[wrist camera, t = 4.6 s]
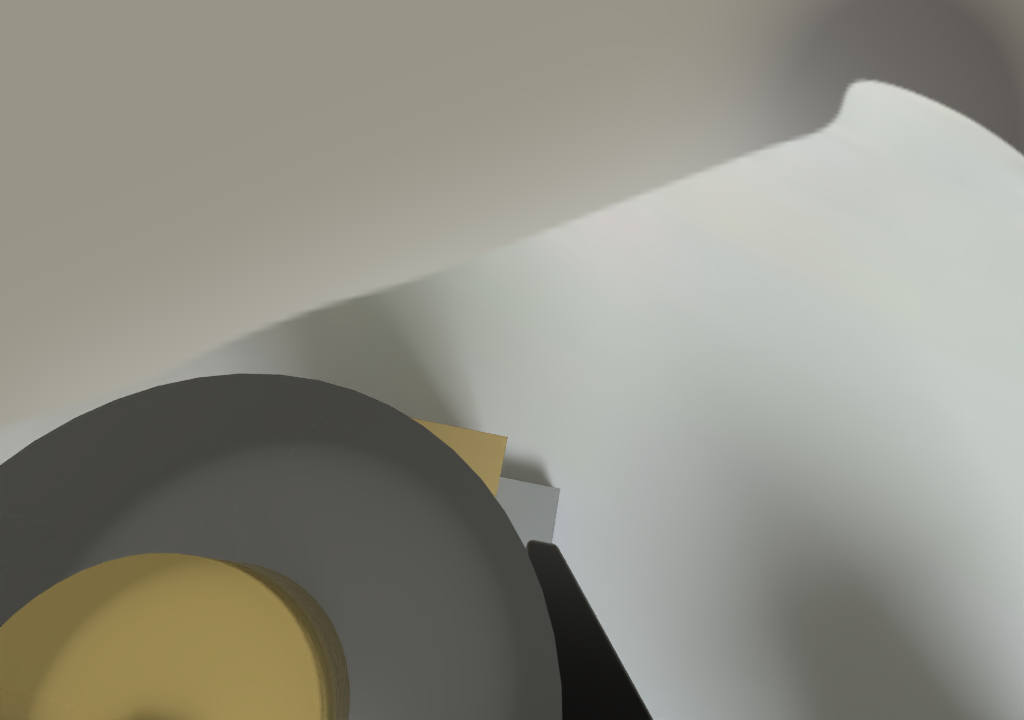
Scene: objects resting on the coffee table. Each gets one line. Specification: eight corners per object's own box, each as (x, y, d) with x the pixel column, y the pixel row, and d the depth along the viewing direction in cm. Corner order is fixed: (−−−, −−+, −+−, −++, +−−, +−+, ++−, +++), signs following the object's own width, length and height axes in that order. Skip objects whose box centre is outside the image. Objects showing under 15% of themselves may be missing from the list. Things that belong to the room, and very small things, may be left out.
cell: (387, 767, 13) (-236, 2099, 1) (281, 613, 14) (-591, 705, 2) (527, 630, 14) (774, 790, 3) (420, 498, 15) (269, 200, 4)
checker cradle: (505, 819, 16) (524, 936, 11) (256, 769, 16) (145, 858, 11) (555, 493, 20) (590, 453, 14) (349, 452, 20) (302, 396, 14)
